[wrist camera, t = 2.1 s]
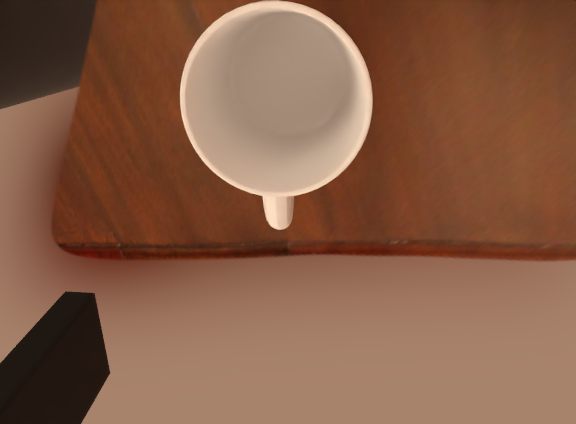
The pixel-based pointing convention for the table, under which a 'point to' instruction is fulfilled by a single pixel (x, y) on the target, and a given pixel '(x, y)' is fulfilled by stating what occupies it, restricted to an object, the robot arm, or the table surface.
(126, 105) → the table surface
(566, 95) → the table surface
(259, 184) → the mug
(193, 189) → the table surface
